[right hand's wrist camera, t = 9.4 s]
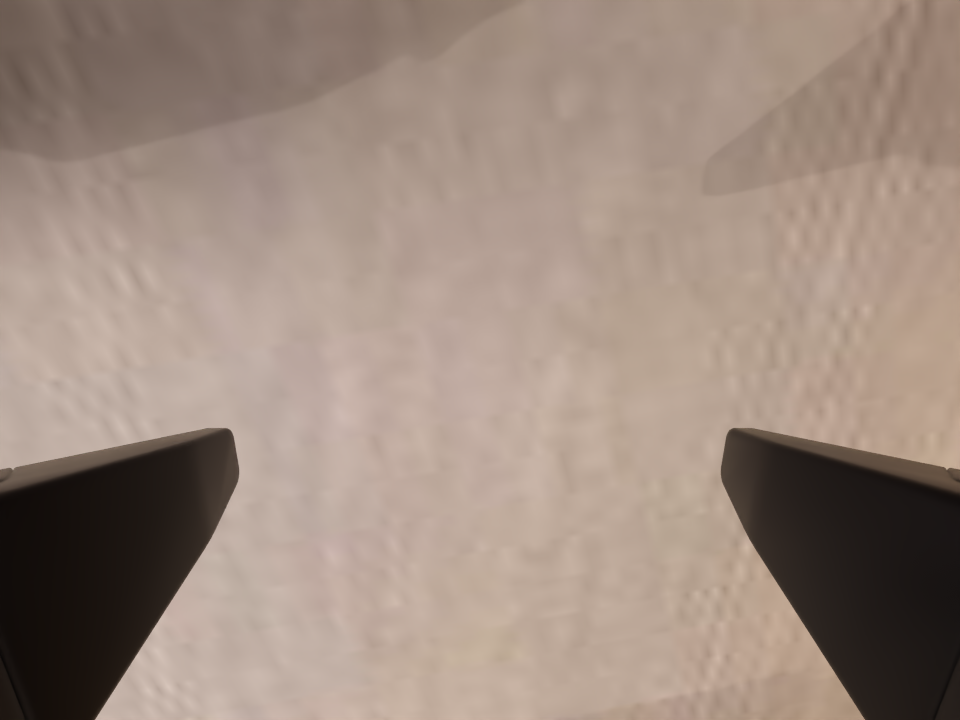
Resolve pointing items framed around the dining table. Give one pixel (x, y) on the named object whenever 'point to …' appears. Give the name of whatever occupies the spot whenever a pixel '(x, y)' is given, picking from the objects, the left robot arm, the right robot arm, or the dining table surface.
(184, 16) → the dining table surface
